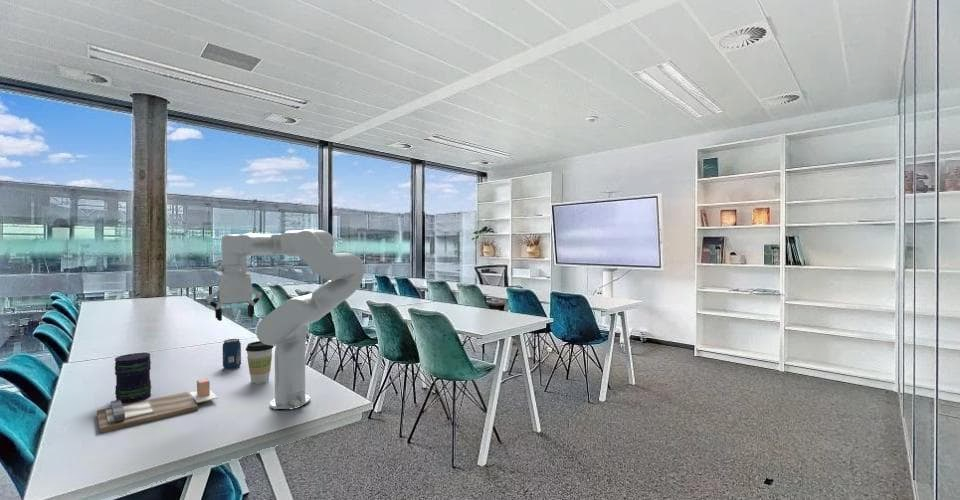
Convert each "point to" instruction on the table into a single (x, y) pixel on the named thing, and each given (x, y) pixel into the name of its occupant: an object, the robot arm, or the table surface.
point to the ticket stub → (203, 391)
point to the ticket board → (144, 411)
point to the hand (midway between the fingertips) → (235, 318)
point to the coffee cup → (259, 361)
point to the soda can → (231, 354)
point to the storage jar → (133, 377)
